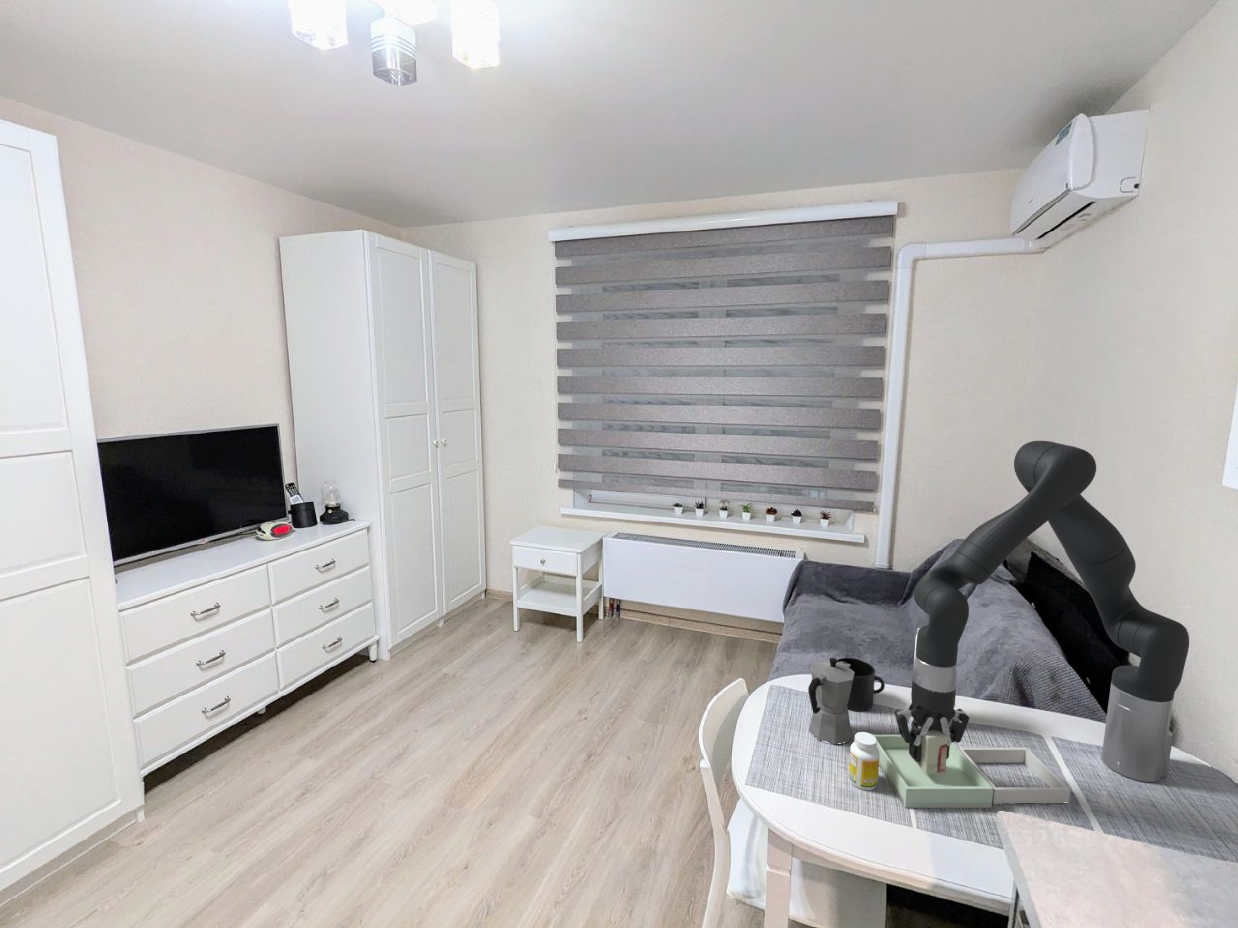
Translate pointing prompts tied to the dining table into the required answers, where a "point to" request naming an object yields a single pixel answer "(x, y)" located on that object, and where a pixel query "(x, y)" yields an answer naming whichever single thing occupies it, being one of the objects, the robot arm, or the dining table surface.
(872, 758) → the supplement bottle
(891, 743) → the bin
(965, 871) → the dining table surface
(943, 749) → the small box
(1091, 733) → the dining table surface
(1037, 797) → the frame
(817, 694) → the coffeepot
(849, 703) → the mug
